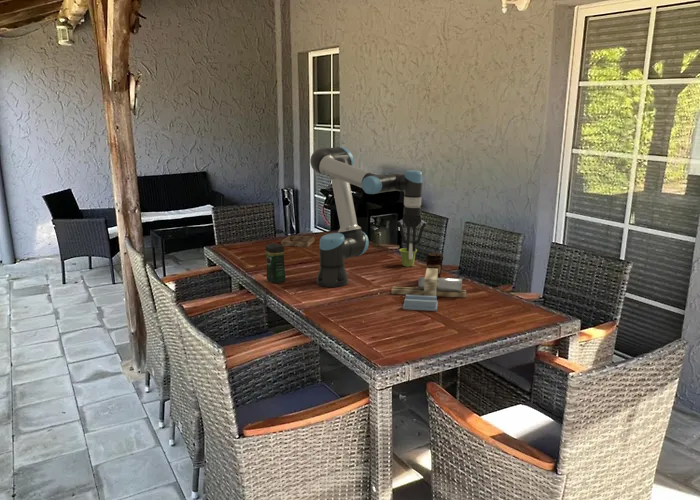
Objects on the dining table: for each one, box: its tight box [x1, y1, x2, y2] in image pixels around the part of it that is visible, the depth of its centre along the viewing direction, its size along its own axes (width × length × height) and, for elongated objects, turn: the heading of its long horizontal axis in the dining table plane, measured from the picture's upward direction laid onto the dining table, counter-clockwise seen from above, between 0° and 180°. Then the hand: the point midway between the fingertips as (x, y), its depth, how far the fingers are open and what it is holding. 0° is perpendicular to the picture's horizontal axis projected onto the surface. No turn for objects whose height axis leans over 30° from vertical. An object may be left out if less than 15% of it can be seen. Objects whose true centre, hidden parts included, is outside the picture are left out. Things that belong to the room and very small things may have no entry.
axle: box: [417, 276, 463, 292], centre depth 250 cm, size 19×6×6 cm, turn 79°
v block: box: [402, 294, 439, 312], centre depth 235 cm, size 14×10×4 cm
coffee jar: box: [265, 242, 286, 284], centre depth 272 cm, size 10×8×19 cm
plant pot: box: [399, 247, 418, 268], centre depth 299 cm, size 9×9×9 cm
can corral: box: [280, 235, 315, 248], centre depth 353 cm, size 17×17×3 cm
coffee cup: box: [425, 252, 444, 278], centre depth 272 cm, size 9×8×13 cm
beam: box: [391, 267, 467, 298], centre depth 251 cm, size 33×18×10 cm, turn 79°
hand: (410, 258), depth 250 cm, fingers closed
